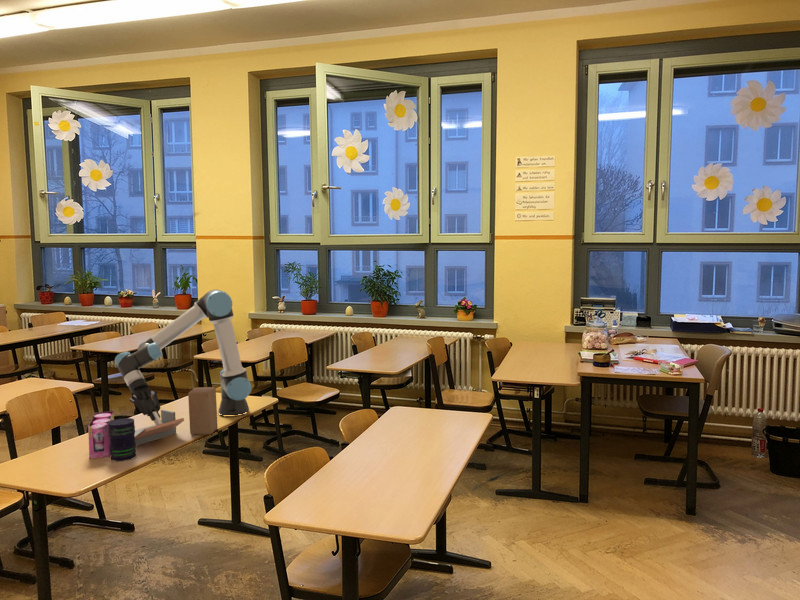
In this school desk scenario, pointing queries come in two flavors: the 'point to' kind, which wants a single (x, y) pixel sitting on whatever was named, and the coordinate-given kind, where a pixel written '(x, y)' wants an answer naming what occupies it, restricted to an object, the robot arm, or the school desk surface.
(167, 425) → the panel
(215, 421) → the wooden block
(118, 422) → the storage jar
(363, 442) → the school desk surface
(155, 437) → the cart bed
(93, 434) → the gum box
